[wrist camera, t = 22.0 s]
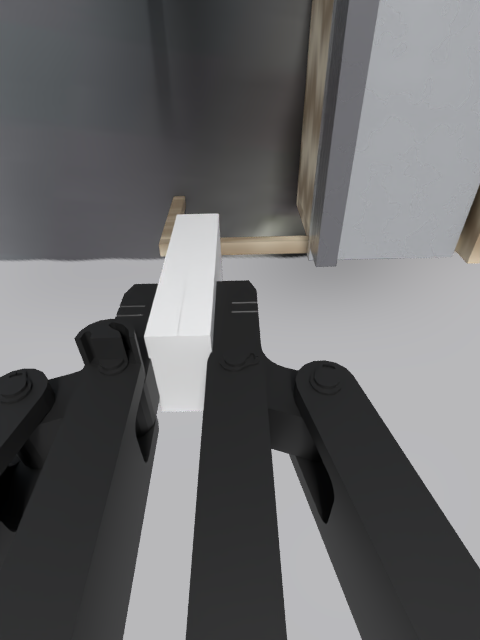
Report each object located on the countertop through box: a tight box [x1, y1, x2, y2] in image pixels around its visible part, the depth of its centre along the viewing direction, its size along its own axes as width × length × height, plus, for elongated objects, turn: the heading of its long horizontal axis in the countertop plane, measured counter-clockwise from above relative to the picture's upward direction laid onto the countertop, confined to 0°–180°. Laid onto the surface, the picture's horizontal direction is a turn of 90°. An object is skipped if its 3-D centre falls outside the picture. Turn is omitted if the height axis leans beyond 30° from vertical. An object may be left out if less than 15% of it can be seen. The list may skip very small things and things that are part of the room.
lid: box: [307, 0, 480, 267], centre depth 26 cm, size 20×12×4 cm, turn 1°
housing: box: [159, 0, 480, 263], centre depth 31 cm, size 20×28×13 cm
